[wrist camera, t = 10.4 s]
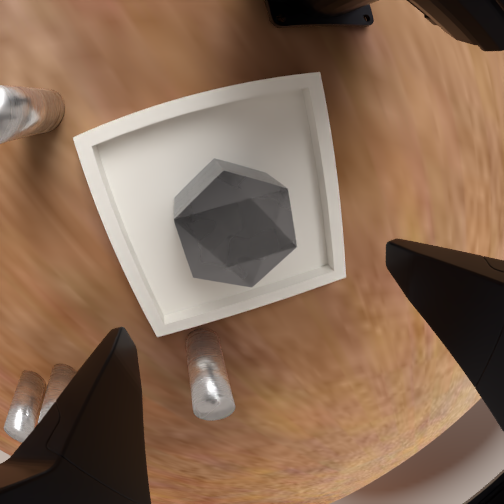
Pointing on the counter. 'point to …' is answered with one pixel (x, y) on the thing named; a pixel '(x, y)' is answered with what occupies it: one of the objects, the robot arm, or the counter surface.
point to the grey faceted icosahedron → (234, 223)
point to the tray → (189, 165)
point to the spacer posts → (32, 385)
